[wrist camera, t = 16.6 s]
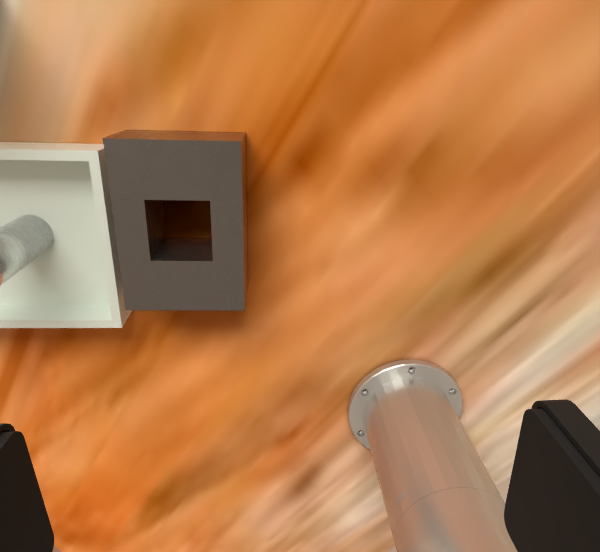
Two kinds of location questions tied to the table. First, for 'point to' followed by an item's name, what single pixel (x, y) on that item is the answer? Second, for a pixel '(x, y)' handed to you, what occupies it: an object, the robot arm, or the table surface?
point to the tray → (62, 238)
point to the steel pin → (22, 244)
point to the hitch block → (151, 223)
